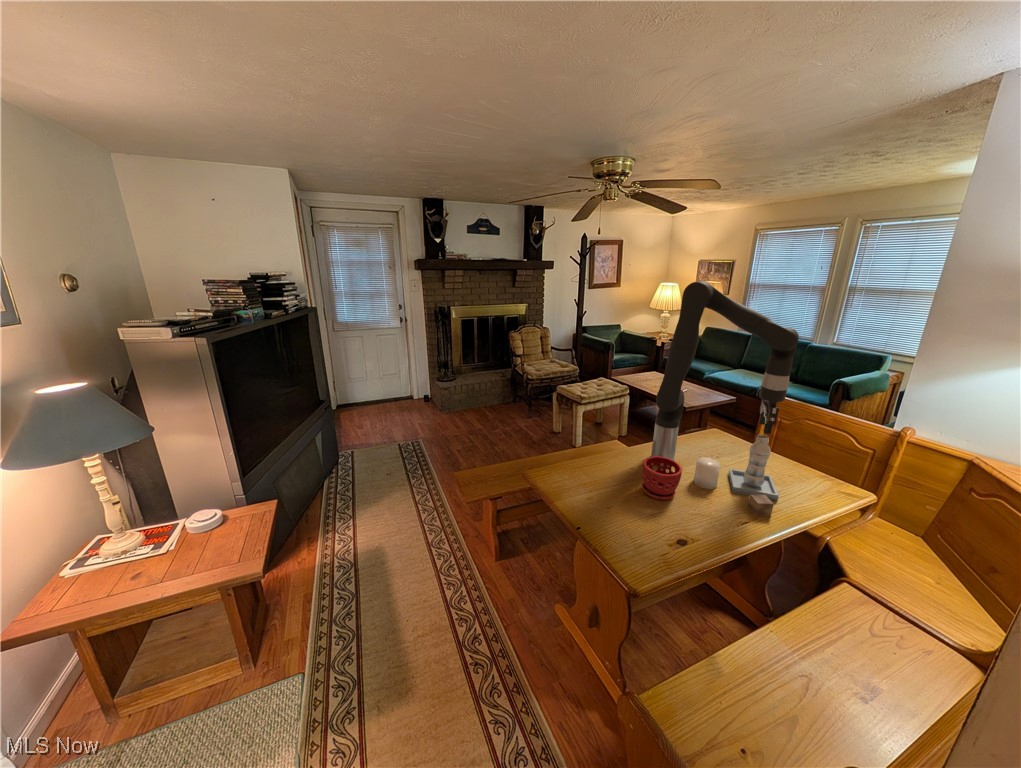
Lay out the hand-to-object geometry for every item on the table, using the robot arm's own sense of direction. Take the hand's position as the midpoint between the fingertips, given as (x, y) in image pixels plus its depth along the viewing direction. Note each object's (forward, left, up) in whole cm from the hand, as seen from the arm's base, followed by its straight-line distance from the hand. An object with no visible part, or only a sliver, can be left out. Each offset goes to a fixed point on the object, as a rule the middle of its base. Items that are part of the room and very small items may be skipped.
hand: (764, 428), depth 134 cm
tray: (0, 0, -24) cm, 24 cm away
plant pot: (-32, -18, -24) cm, 44 cm away
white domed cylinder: (-16, -4, -24) cm, 29 cm away
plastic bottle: (0, 0, -23) cm, 23 cm away
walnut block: (0, -16, -24) cm, 29 cm away
